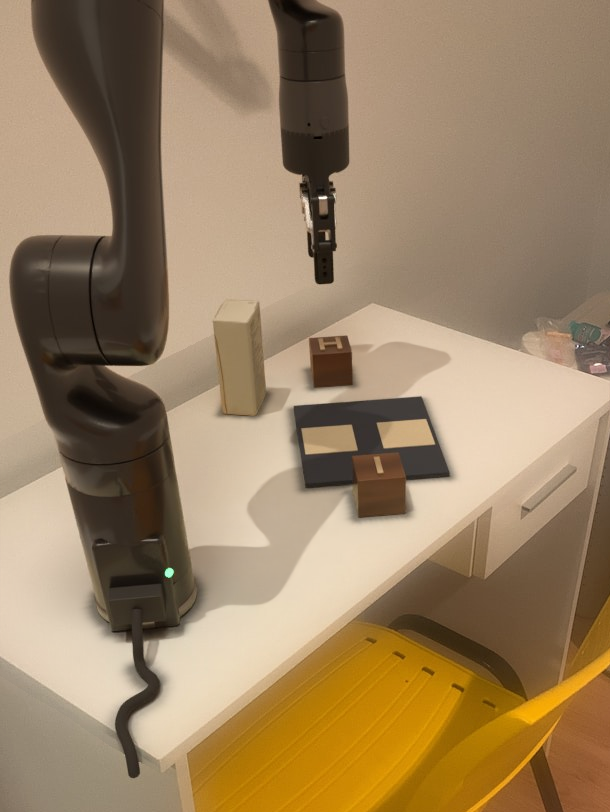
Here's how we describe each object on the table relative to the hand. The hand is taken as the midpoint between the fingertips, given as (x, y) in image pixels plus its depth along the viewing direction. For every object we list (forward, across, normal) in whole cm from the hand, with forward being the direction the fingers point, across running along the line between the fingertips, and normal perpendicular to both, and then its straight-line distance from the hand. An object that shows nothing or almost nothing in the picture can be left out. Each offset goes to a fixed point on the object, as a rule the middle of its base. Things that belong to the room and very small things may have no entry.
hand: (320, 269), depth 116 cm
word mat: (+14, +17, +3) cm, 22 cm away
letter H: (+14, 0, +1) cm, 14 cm away
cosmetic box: (+14, +6, -11) cm, 19 cm away
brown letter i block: (+14, +30, +2) cm, 33 cm away
